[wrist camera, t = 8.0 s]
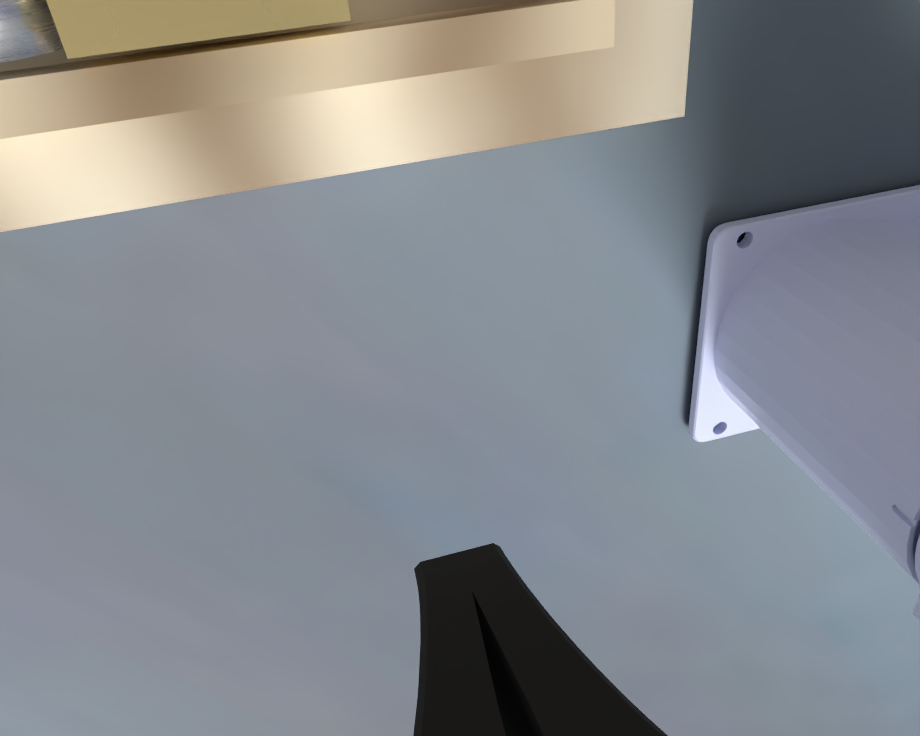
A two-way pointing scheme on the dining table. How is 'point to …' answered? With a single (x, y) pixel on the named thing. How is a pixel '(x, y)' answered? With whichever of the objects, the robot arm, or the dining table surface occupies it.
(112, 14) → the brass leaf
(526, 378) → the dining table surface
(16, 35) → the panel
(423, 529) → the dining table surface
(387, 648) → the dining table surface
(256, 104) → the jig board
